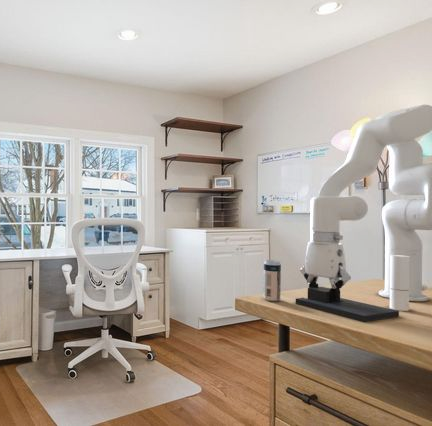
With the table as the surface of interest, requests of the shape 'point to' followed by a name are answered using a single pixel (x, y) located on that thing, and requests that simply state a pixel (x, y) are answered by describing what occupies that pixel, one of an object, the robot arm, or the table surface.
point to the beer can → (272, 280)
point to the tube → (399, 282)
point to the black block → (319, 294)
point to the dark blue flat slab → (351, 309)
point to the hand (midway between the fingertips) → (323, 298)
